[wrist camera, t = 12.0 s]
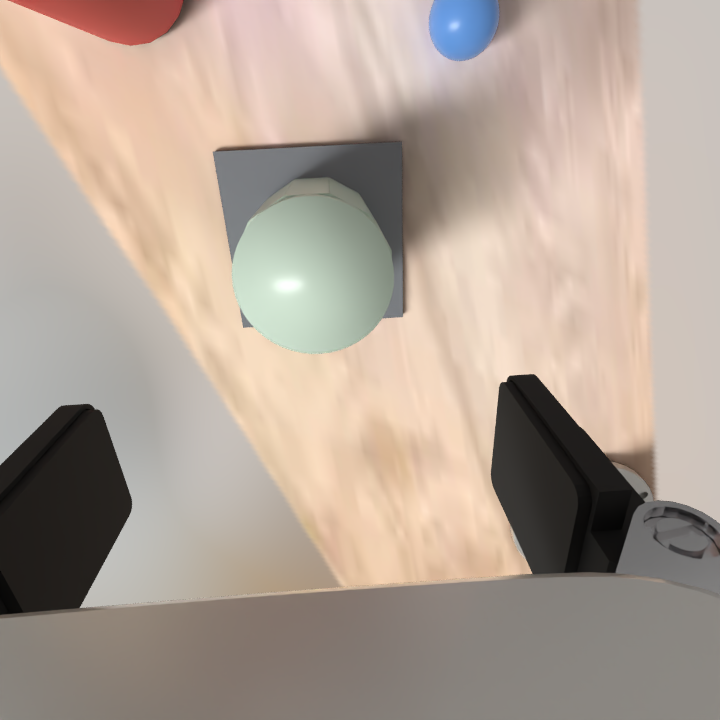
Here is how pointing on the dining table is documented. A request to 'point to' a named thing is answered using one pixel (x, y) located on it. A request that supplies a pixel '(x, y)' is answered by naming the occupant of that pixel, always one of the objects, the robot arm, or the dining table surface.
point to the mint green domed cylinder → (313, 268)
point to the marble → (463, 27)
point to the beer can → (112, 17)
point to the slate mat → (339, 162)
